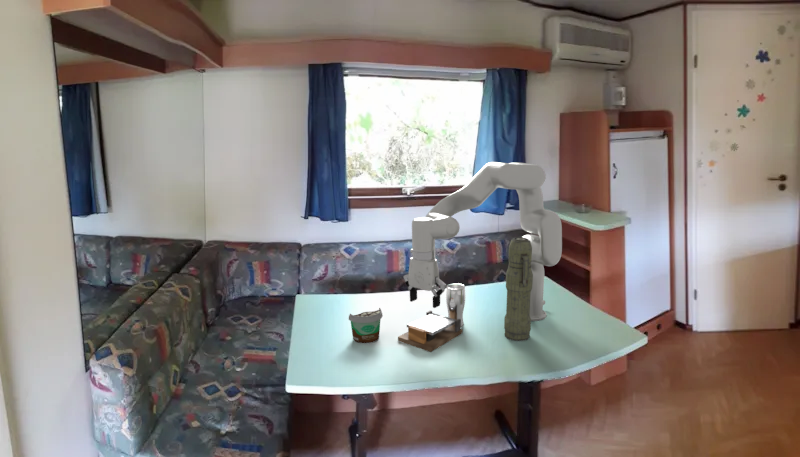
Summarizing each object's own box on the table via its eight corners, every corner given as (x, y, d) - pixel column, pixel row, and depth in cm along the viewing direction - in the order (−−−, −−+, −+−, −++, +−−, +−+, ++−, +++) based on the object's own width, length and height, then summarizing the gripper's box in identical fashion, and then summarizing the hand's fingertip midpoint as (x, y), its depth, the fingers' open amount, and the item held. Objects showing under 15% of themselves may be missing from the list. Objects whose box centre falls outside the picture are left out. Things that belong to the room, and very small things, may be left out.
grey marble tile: (432, 316, 185) (432, 312, 185) (457, 323, 178) (457, 319, 178) (406, 327, 174) (406, 323, 174) (432, 336, 167) (432, 331, 167)
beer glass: (464, 329, 183) (464, 289, 179) (445, 328, 184) (445, 288, 181) (465, 321, 189) (466, 283, 186) (447, 320, 191) (447, 282, 187)
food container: (356, 347, 169) (355, 319, 167) (349, 341, 174) (348, 313, 172) (389, 340, 175) (388, 312, 172) (381, 333, 180) (380, 307, 178)
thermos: (520, 327, 183) (524, 234, 176) (536, 341, 172) (541, 241, 164) (498, 330, 181) (500, 235, 174) (512, 344, 170) (516, 243, 162)
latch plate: (430, 323, 188) (430, 308, 187) (462, 333, 179) (462, 318, 178) (398, 340, 174) (397, 325, 173) (430, 352, 165) (430, 335, 164)
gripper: (396, 253, 170) (398, 301, 173) (438, 261, 159) (439, 312, 163) (410, 248, 175) (411, 295, 179) (451, 256, 164) (452, 305, 168)
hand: (424, 303), depth 171 cm, fingers open, 9 cm apart
